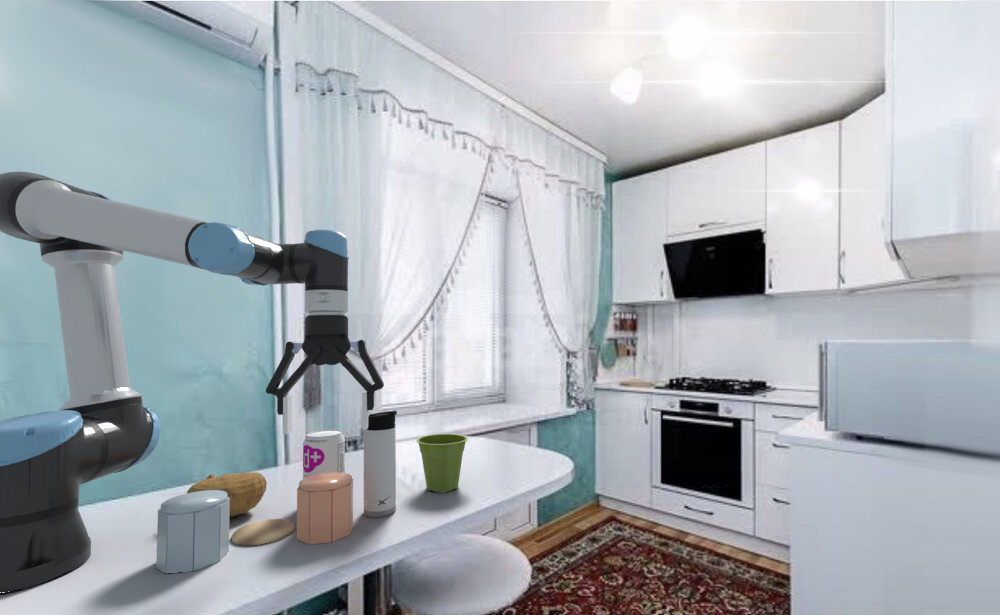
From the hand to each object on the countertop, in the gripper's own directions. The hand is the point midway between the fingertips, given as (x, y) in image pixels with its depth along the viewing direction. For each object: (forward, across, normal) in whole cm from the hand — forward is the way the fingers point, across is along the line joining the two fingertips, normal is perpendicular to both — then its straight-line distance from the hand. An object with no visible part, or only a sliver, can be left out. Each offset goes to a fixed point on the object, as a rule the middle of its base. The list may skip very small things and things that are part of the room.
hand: (326, 430), depth 84 cm
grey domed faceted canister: (+18, -19, -6) cm, 27 cm away
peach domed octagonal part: (+18, 0, 0) cm, 18 cm away
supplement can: (+18, -3, +14) cm, 23 cm away
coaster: (+18, -11, +2) cm, 21 cm away
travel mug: (+18, +9, +8) cm, 22 cm away
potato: (+18, -21, +12) cm, 30 cm away
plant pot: (+18, +22, +20) cm, 35 cm away
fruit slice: (+18, -28, +23) cm, 41 cm away
